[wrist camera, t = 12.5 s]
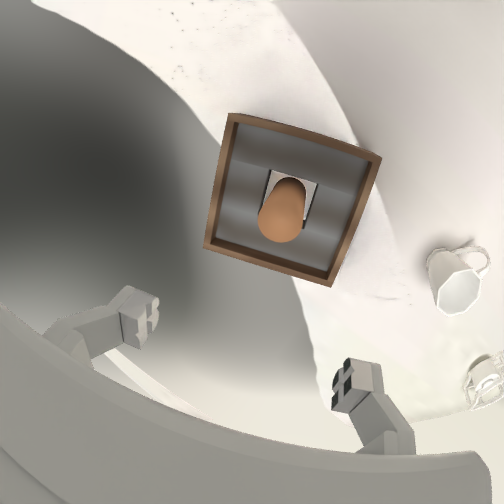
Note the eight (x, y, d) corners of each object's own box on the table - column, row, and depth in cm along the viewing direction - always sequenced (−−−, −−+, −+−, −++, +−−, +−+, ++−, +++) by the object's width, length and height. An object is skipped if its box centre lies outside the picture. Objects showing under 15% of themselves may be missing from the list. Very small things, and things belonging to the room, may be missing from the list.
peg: (277, 172, 32) (263, 194, 24) (310, 182, 32) (308, 207, 23) (269, 203, 34) (253, 235, 26) (300, 212, 34) (295, 247, 25)
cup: (410, 254, 33) (428, 287, 26) (467, 218, 29) (496, 244, 22) (426, 290, 35) (442, 326, 28) (478, 257, 31) (503, 287, 24)
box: (240, 113, 30) (228, 112, 26) (372, 152, 29) (382, 158, 24) (216, 231, 38) (202, 247, 33) (329, 266, 37) (331, 287, 32)
